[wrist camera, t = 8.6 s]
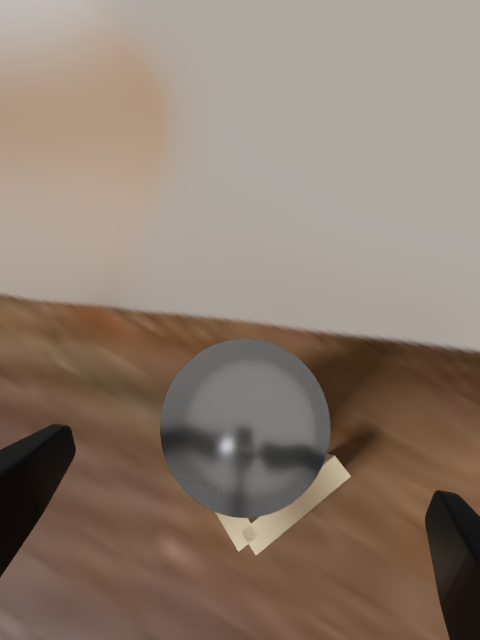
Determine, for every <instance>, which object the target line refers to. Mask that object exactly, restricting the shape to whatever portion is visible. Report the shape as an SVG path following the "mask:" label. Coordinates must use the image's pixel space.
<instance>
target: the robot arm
mask: <svg viewBox="0 0 480 640" xmlns="http://www.w3.org/2000/svg"><path fill="white" fill-rule="evenodd" d="M75 452H76V447H75V443H74V439H73V435H72V430H71V428H70V427H69V426H67V425H62V424H52V425H50V426H48V427H46V428H44V429H42V430H40V431H38V432H36V433H33V434H31V435H29V436H27V437H25V438H23V439H21V440H19V441H17V442H15V443H13V444H11V445H9V446H7V447H5V448H3V449H1V450H0V577H1V576H2V574H3V573H4V571H5V570H6V568H7V567H8V565H9V564H10V562H11V561H12V559H13V558H14V556H15V555H16V553H17V552H18V550H19V549H20V547H21V546H22V544H23V543H24V541H25V540H26V538H27V537H28V535H29V534H30V532H31V531H32V529H33V528H34V526H35V525H36V523H37V522H38V520H39V519H40V517H41V516H42V514H43V512H44V511H45V509H46V507H47V505H48V504H49V502H50V500H51V498H52V496H53V495H54V493H55V491H56V489H57V487H58V486H59V484H60V482H61V480H62V478H63V476H64V475H65V473H66V471H67V469H68V467H69V466H70V464H71V462H72V460H73V458H74V456H75ZM425 525H426V531H427V536H428V542H429V547H430V553H431V558H432V563H433V569H434V574H435V580H436V585H437V591H438V595H439V600H440V605H441V609H442V613H443V617H444V620H445V624H446V627H447V631H448V634H449V638H450V640H480V516H479V515H478V514H477V513H476V512H475V511H474V510H473V509H472V508H471V507H470V506H469V505H468V504H467V503H466V502H465V501H464V500H463V499H462V498H461V497H460V496H459V495H457V494H456V493H452V492H446V491H440V490H437V491H436V492H435V493H434V494H433V497H432V499H431V502H430V504H429V507H428V510H427V512H426V516H425Z"/></svg>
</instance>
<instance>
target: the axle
mask: <svg viewBox="0 0 480 640" xmlns="http://www.w3.org/2000/svg"><path fill="white" fill-rule="evenodd" d="M160 435H161V444H162V449H163V453H164V457H165V459H166V462H167V464H168V467H169V469H170V471H171V473H172V475H173V476H174V478H175V480H176V481H177V482H178V484H179V485H180V486H181V488H182V489H183V490H184V491H185V492H186V493H187V494H188V495H189V496H190V497H191V498H192V499H194V500H195V501H196V502H198V503H199V504H200V505H202V506H204V507H206V508H207V509H209V510H211V511H214V512H216V513H219V514H221V515H226V516H230V517H237V518H253V517H260V516H265V515H269V514H272V513H274V512H277V511H279V510H281V509H283V508H285V507H287V506H288V505H290V504H292V503H293V502H294V501H296V500H297V499H298V498H299V497H301V496H302V495H303V494H304V493H305V491H306V490H307V489H308V488H309V487H310V486H311V484H312V483H313V482H314V480H315V479H316V477H317V476H318V474H319V472H320V470H321V468H322V466H323V463H324V461H325V458H326V455H327V451H328V446H329V441H330V416H329V410H328V405H327V402H326V399H325V396H324V393H323V391H322V389H321V387H320V384H319V383H318V381H317V380H316V378H315V376H314V375H313V373H312V372H311V371H310V370H309V368H308V367H307V366H306V365H305V364H304V363H303V362H302V361H301V360H300V359H299V358H297V357H296V356H295V355H293V354H292V353H291V352H289V351H287V350H286V349H284V348H282V347H280V346H277V345H275V344H273V343H270V342H266V341H262V340H256V339H235V340H229V341H225V342H221V343H218V344H216V345H213V346H211V347H209V348H207V349H205V350H203V351H202V352H200V353H199V354H197V355H196V356H194V357H193V358H192V359H191V360H190V361H189V362H188V363H187V364H186V365H185V366H184V367H183V368H182V369H181V370H180V372H179V373H178V374H177V376H176V377H175V379H174V380H173V382H172V384H171V386H170V388H169V390H168V392H167V395H166V398H165V400H164V404H163V408H162V413H161V421H160Z"/></svg>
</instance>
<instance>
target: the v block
mask: <svg viewBox="0 0 480 640" xmlns="http://www.w3.org/2000/svg"><path fill="white" fill-rule="evenodd" d="M350 477H351V476H350V474H349V473H348V472H347V471H346V469H345V468H344V467H343V465H342V464H341V463H340V462H339V460H338V459H337V458H336V456H335V455H331V454H327V455H326V458H325V461H324V463H323V466H322V468H321V470H320V472H319V474H318V476H317V477H316V479H315V480H314V482H313V483H312V484H311V486H310V487H309V488H308V489H307V490H306V491H305V493H304V494H303V495H302V496H301V497H299V498H298V499H297V500H296V501H294V502H293V503H292V504H290V505H288V506H287V507H285V508H283V509H281V510H279V511H277V512H274V513H272V514H269V515H265V516H260V517H253V518H237V517H230V516H226V515H221V514H219V513H216V512H215V513H216V514H217V516H218V518H219V519H220V521H221V523H222V524H223V526H224V528H225V530H226V531H227V533H228V535H229V536H230V538H231V540H232V541H233V543H234V545H235V546H236V548H237V550H238V551H240V550H241V549H243V548H244V547H245V546H246V545H248V544H249V545H250V547H251V548H252V550H253V552H254V553H255V555H257V554H258V553H260V552H261V551H262V550H263V549H264V548H266V547H267V546H268V545H269V544H270V543H272V542H273V541H274V540H275V539H276V538H278V537H279V536H280V535H281V534H282V533H284V532H285V531H286V530H287V529H288V528H290V527H291V526H292V525H293V524H294V523H296V522H297V521H298V520H299V519H301V518H302V517H303V516H304V515H305V514H307V513H308V512H309V511H310V510H311V509H313V508H314V507H315V506H316V505H317V504H319V503H320V502H321V501H322V500H323V499H325V498H326V497H327V496H328V495H329V494H331V493H332V492H333V491H334V490H335V489H337V488H338V487H339V486H340V485H341V484H343V483H344V482H345V481H346V480H347V479H349V478H350Z"/></svg>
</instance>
